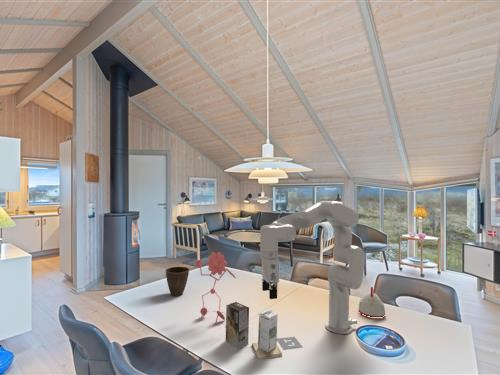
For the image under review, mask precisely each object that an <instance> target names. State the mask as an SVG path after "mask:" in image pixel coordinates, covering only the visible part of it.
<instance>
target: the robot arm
mask: <svg viewBox="0 0 500 375" xmlns="http://www.w3.org/2000/svg"><path fill="white" fill-rule="evenodd" d="M323 220H327V222H328V223H329V224H330V225H331V227H332V229H333V232H334V238H333V248H332V257H333V259H334V260H335V261H337V262H339V263H341V264H339V263H334V264H332V265H330V266H329V267H328V268H327V280H328V290H329V291H328V292H329V295H328V298H329V299H328V320H327V321H326V322H325V328H326V329H327V330H328V331H330V332H332V333H335V334H339V335H346V334H350V333H352V330H353V328H352V325H357V324H358V321H357V319H352V318H350V317H349V315H350V314H349V313H350V311H349V310H350V307H349V306H350V292H349V289H350V290H358V289H360V288H361V286H362V284H363V280H364V273H365V264H366V263H365V262H366V255H365V251H364V250H363V248H361V247H359V246H357V245H353V244H352V243H353V242H352V241H353V233H352V230H351V228H354V227H356V226H357V225H358V223H359V221H360V219H359V214H358V213H357V211H356V210H355V209H353V208H352V207H349V206H347V205H345V204H343V203H341V202H339V201H335V200H321V201H318V202H315V203H314V204H312V205H310V206H309V207H307V208H305V209H303V210H300V211H298V212H295V213H291V214H288V215H285V216H282V217H280V218H278V219H276V220H274V221H273V222H272V223H270V224H266V225H265V224H263V225H262V226H261V227H260V229H259V230H260V231H259V232H260V235H259V236H260V242H259V243H260V253H259V254H260V259H261V277H262V278H261V280H262V285H261V286H262V288H261V290H262V291H263V292H265V291H269V292H268V293H269V296H268V297H269V300H275V299H278V283H279V282H280V273H279V272H280V271H279V264H278V263H279V261H278V259H279V242H283V243H288V242H292V241H293V240H294V239H295V238H296V236H297V230H301V229H309V228H312V227H314V226H315V225H317V224H318V223H321V222H322V221H323ZM342 263H343V265H342ZM344 264H346V265H344ZM347 265H348V266H347Z"/></svg>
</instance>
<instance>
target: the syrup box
mask: <svg viewBox="0 0 500 375" xmlns="http://www.w3.org/2000/svg"><path fill="white" fill-rule="evenodd" d="M277 335H278V313H277V312H274V311H272V310H269V309H267V310H265V311H264V310H263V311H262V312H260V313H259V314H258V337H257V342H258V348H260V349H262V350H264V351H266V352H270V351H272V350H273V349H274V348H276V345H277V342H278V341H277V337H278V336H277Z"/></svg>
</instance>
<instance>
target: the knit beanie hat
mask: <svg viewBox="0 0 500 375" xmlns="http://www.w3.org/2000/svg"><path fill="white" fill-rule="evenodd" d="M385 309H386V308H385V304H384V302H383V301H382V300H381V298H380V297H379V296H378V295H377V294H376V293H375V292H374V287H373V286H370V292H367V293H366V294H364V295H363V296H362V298H360V300H359V304H358V313H359V312H360V313H362V314H364V315H366V316H370V317H383V316H384V315H385V316H386V310H385ZM360 313H359V314H360Z"/></svg>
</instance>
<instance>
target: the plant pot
mask: <svg viewBox="0 0 500 375" xmlns="http://www.w3.org/2000/svg"><path fill="white" fill-rule="evenodd" d="M189 273H190V268H189V267H186V266H173V267H168V268H166V269H165V276H166V283H167V287H168V290H169V293H170V296H172V297H180V296H183V295H184V291H185V289H186V286H187V282H188V278H189Z"/></svg>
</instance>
